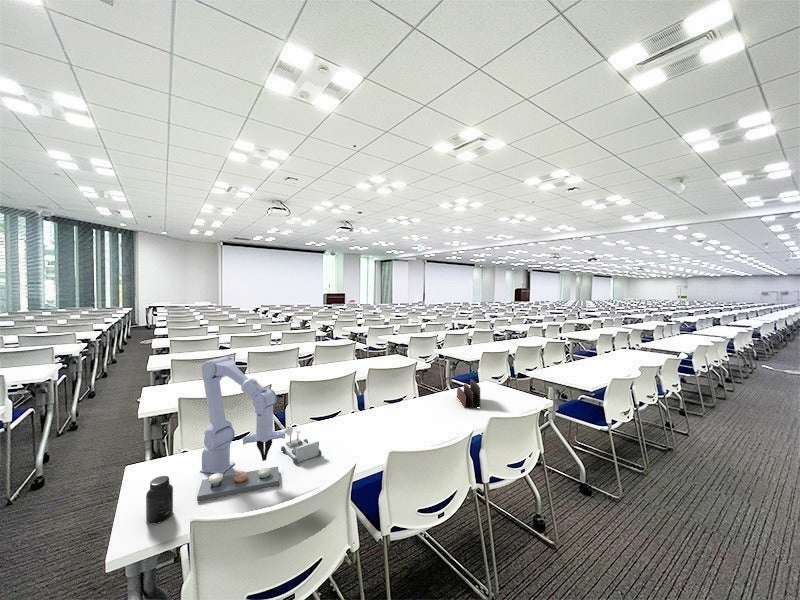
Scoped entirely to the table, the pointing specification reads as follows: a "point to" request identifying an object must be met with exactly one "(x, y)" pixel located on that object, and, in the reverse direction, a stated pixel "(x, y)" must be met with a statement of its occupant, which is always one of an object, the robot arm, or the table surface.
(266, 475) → the sage green button
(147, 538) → the table surface
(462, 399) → the letter holder
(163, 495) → the supplement bottle
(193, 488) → the table surface
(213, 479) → the ivory button
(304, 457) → the toy rover
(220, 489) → the button panel
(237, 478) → the terracotta button
